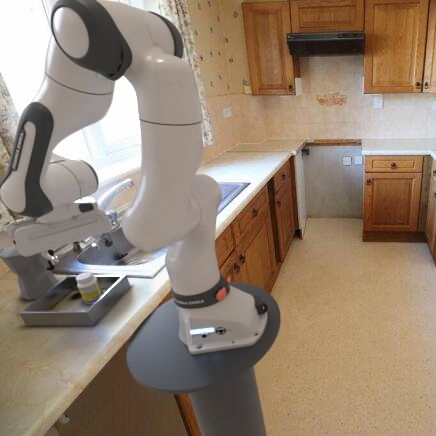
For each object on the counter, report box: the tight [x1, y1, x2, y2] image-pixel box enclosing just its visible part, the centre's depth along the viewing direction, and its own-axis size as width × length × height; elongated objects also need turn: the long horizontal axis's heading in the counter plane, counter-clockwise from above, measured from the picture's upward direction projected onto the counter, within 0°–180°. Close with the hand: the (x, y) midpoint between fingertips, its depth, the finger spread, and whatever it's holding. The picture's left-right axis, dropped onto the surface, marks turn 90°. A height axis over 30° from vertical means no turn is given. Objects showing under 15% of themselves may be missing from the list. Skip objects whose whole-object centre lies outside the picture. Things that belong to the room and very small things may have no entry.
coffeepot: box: [0, 239, 60, 301], centre depth 96 cm, size 15×9×18 cm, turn 90°
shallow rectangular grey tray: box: [18, 274, 131, 327], centre depth 91 cm, size 19×17×4 cm
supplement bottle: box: [76, 271, 104, 305], centre depth 93 cm, size 5×5×8 cm
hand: (77, 256), depth 88 cm, fingers open, 8 cm apart
